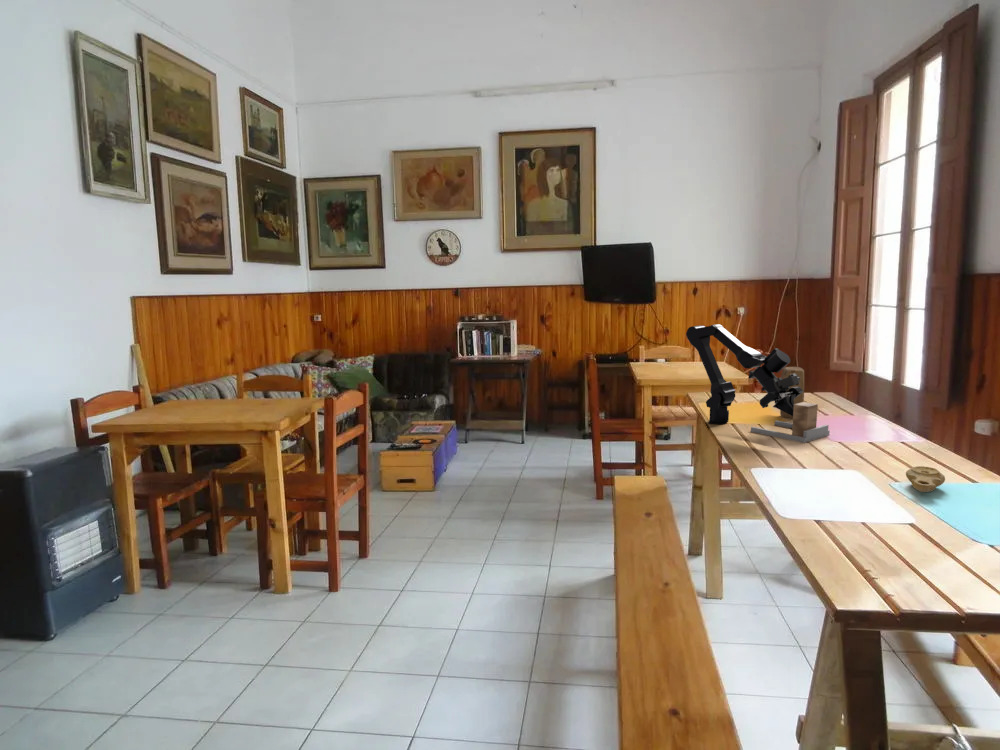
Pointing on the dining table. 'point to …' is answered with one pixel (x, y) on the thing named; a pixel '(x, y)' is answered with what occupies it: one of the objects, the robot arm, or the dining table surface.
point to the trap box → (807, 435)
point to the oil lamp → (925, 478)
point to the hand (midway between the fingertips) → (796, 416)
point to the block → (800, 398)
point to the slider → (804, 418)
